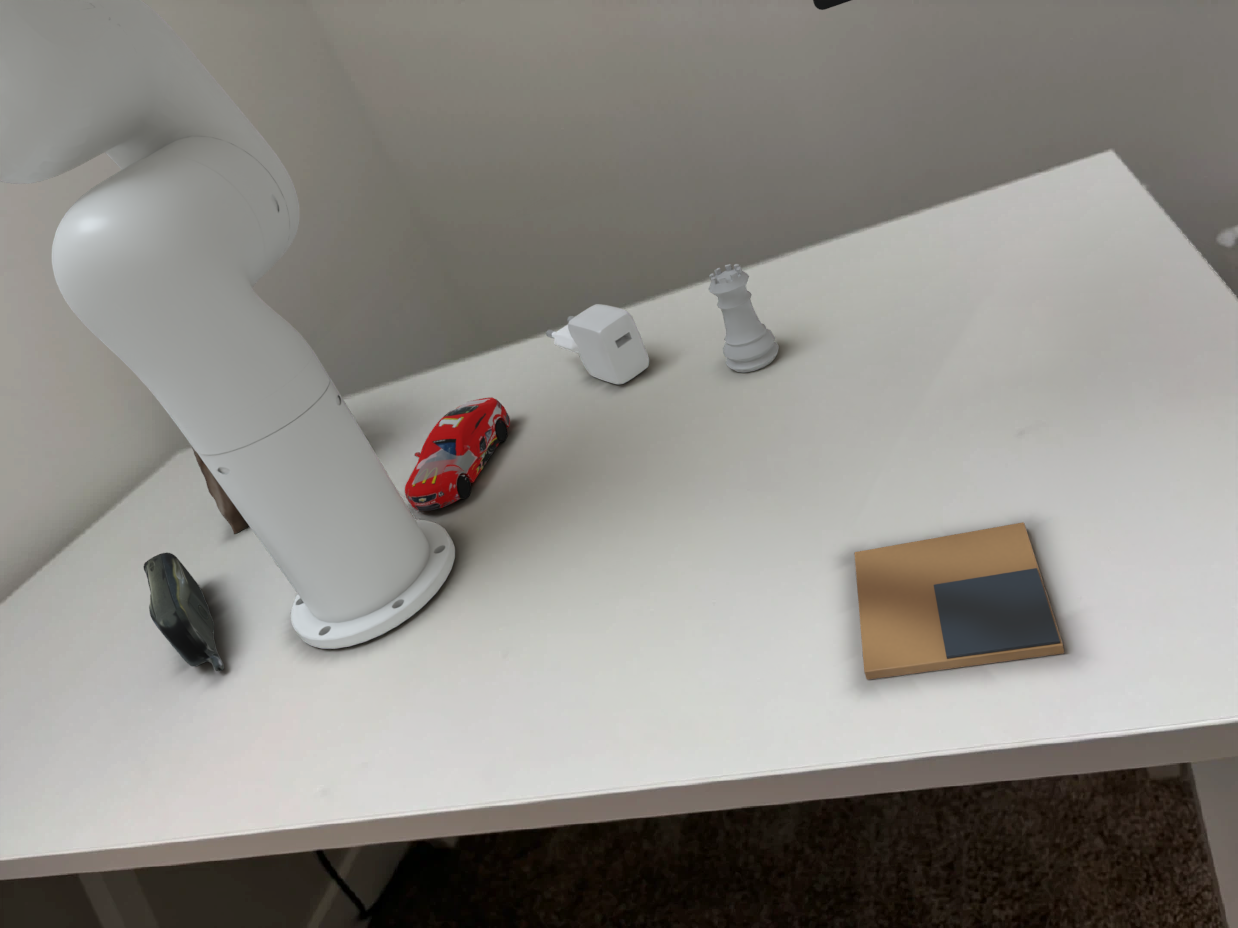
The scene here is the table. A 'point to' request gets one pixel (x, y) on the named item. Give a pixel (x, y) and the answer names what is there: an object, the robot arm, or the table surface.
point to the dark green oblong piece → (181, 611)
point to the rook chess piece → (741, 322)
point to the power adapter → (604, 343)
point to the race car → (456, 453)
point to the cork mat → (953, 603)
